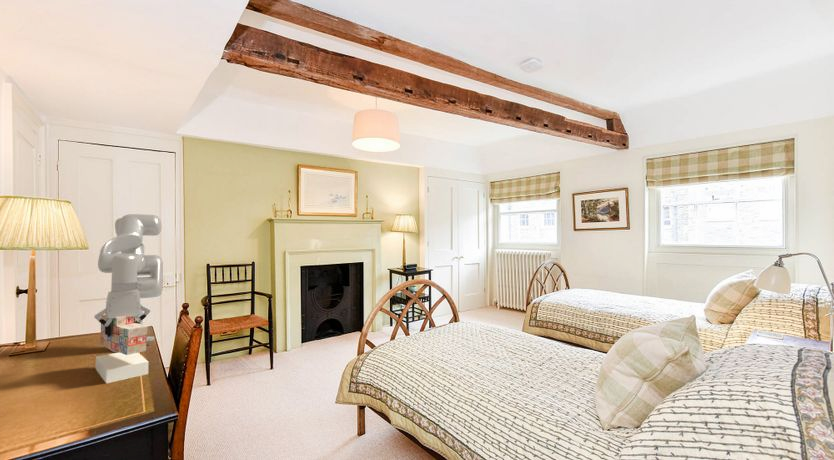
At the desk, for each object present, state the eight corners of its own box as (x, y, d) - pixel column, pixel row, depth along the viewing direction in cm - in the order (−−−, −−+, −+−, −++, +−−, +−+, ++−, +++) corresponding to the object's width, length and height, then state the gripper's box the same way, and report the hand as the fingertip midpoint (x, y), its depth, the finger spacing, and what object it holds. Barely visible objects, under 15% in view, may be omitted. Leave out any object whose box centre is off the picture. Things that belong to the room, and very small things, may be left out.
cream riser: (134, 361, 148) (134, 349, 148) (148, 374, 135) (148, 361, 135) (95, 369, 139) (95, 356, 139) (106, 384, 126) (106, 370, 126)
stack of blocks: (146, 351, 134) (148, 317, 134) (126, 355, 128) (128, 320, 129) (119, 342, 144) (120, 310, 145) (99, 345, 139) (100, 313, 139)
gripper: (150, 284, 146) (149, 328, 146) (92, 288, 134) (91, 336, 133) (153, 286, 140) (152, 332, 140) (93, 290, 128) (92, 340, 128)
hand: (122, 334), depth 137 cm, fingers closed on stack of blocks, 7 cm apart
